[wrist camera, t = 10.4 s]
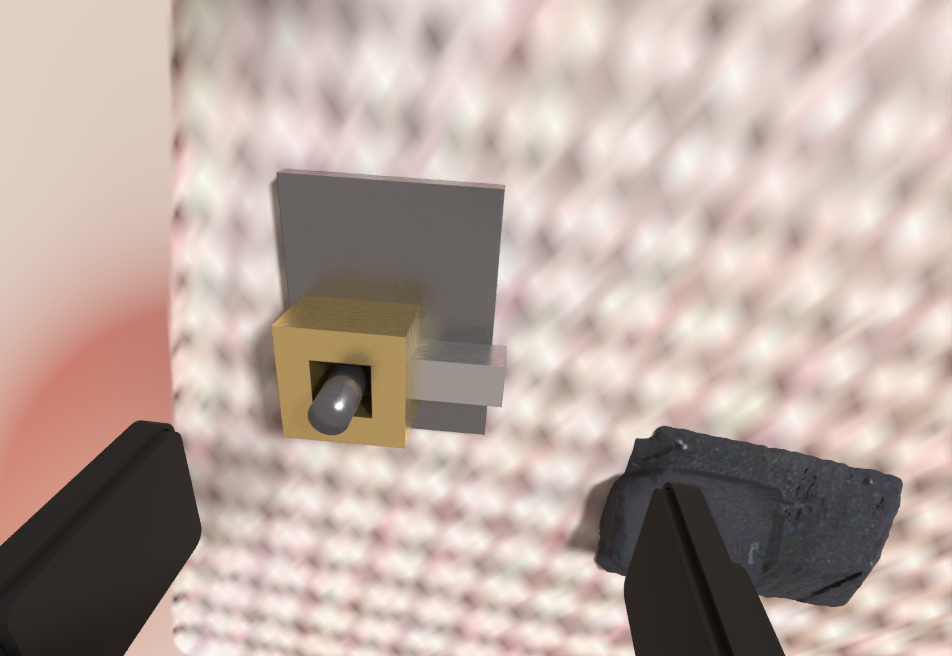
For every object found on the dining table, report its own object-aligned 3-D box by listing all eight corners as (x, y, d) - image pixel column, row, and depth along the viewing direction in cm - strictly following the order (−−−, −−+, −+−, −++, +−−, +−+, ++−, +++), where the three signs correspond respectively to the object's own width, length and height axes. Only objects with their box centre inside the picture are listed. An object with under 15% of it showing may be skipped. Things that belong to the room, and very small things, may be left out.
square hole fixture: (286, 168, 33) (236, 185, 27) (520, 186, 33) (521, 207, 27) (307, 406, 41) (272, 460, 35) (498, 424, 40) (495, 481, 34)
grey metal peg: (347, 336, 36) (306, 398, 29) (381, 338, 36) (348, 401, 29) (348, 366, 37) (309, 433, 30) (381, 368, 37) (350, 437, 30)
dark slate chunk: (822, 603, 46) (854, 655, 42) (580, 556, 46) (586, 604, 42) (915, 469, 40) (963, 515, 35) (634, 414, 40) (648, 453, 35)
